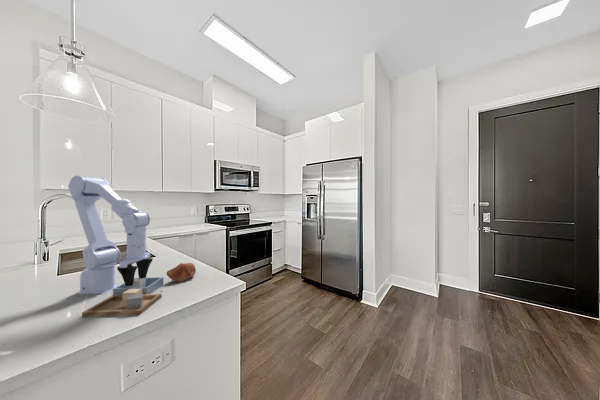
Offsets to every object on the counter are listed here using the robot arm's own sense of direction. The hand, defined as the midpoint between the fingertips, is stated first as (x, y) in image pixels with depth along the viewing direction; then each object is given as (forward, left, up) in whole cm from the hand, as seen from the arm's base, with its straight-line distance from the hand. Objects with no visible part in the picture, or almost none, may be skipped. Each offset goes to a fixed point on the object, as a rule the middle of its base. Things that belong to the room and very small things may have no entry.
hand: (136, 281), depth 82 cm
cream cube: (+5, -10, -4) cm, 12 cm away
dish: (0, +2, -4) cm, 5 cm away
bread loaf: (+10, +14, -5) cm, 18 cm away
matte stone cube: (+8, -14, -4) cm, 16 cm away
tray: (+4, -11, -4) cm, 12 cm away
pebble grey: (0, 0, -4) cm, 4 cm away
